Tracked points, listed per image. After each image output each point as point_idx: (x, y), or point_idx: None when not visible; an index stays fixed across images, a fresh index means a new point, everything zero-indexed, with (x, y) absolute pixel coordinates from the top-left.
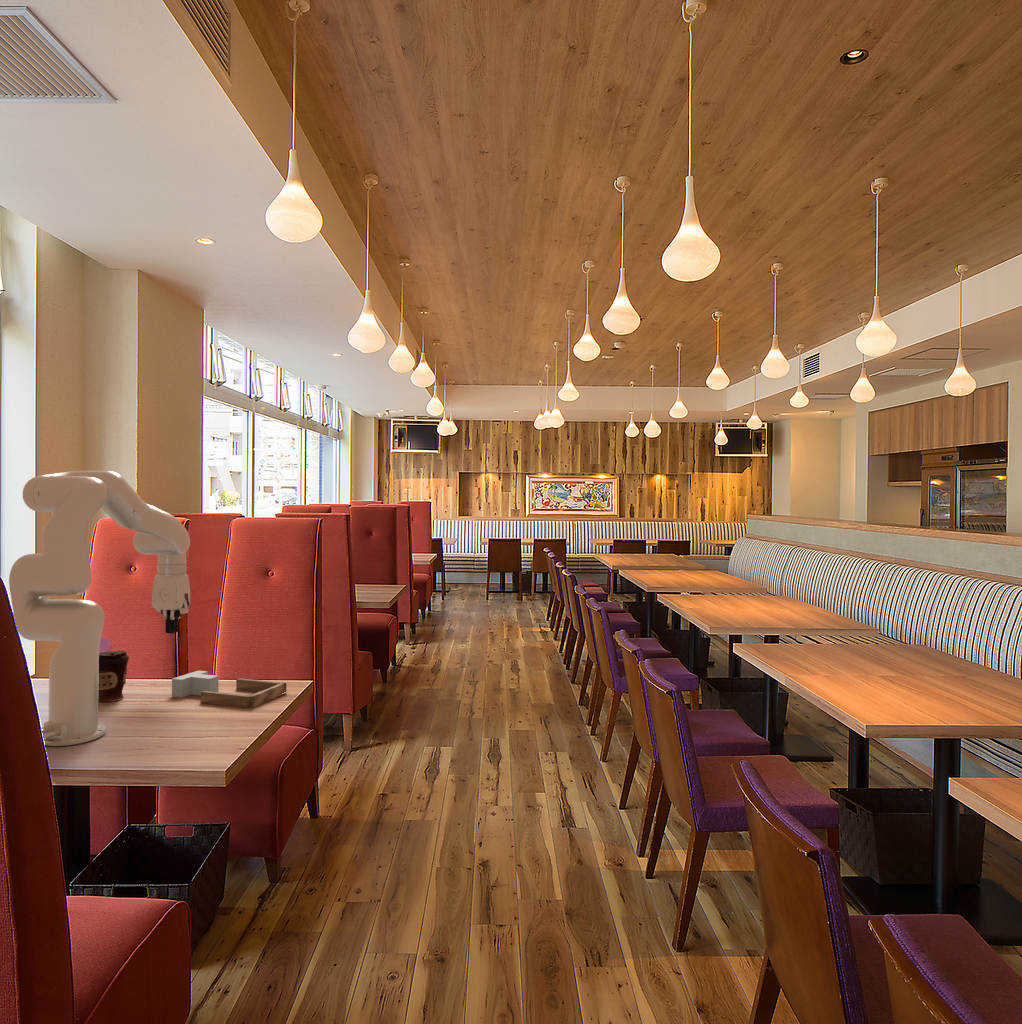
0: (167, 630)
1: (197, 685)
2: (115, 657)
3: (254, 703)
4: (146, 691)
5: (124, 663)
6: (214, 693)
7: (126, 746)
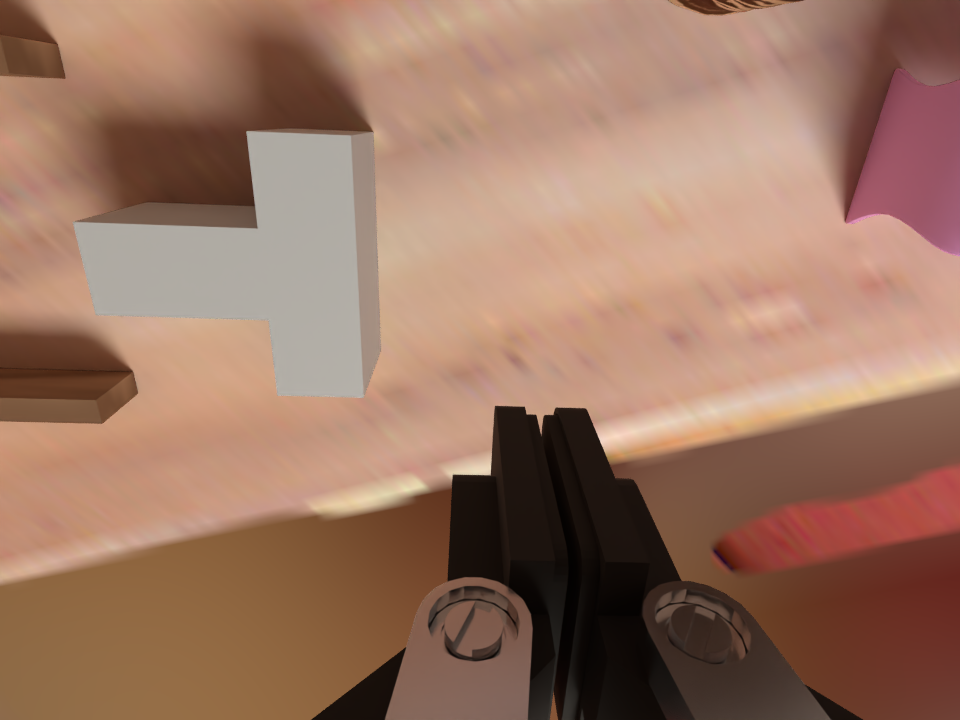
0: (555, 430)
1: (218, 216)
2: None
3: None
4: (619, 185)
5: None
6: None
7: None
